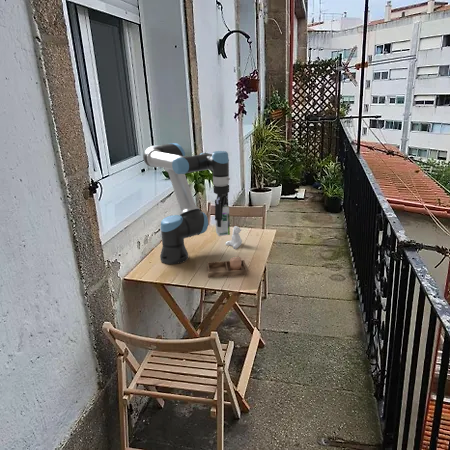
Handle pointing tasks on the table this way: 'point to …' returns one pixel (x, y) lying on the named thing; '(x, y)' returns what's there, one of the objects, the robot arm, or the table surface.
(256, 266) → the table surface
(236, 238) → the sitting furry creature
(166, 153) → the robot arm
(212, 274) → the caddy
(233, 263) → the tan rounded block
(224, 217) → the syrup box
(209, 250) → the table surface
